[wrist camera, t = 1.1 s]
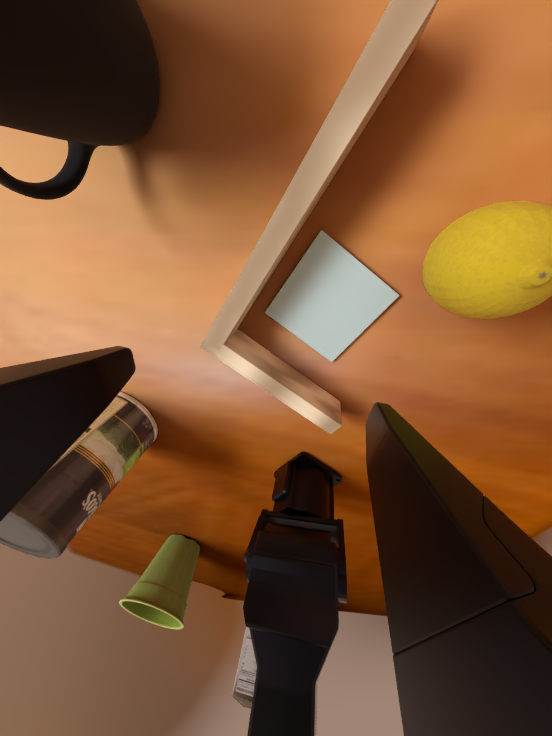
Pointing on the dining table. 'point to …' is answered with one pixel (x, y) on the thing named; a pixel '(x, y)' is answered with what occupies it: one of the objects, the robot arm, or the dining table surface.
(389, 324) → the dining table surface
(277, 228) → the beige l-shaped bar
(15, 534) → the coffee can
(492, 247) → the lemon
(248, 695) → the coffee box
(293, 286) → the pad
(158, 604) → the plant pot
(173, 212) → the dining table surface
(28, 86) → the mug
